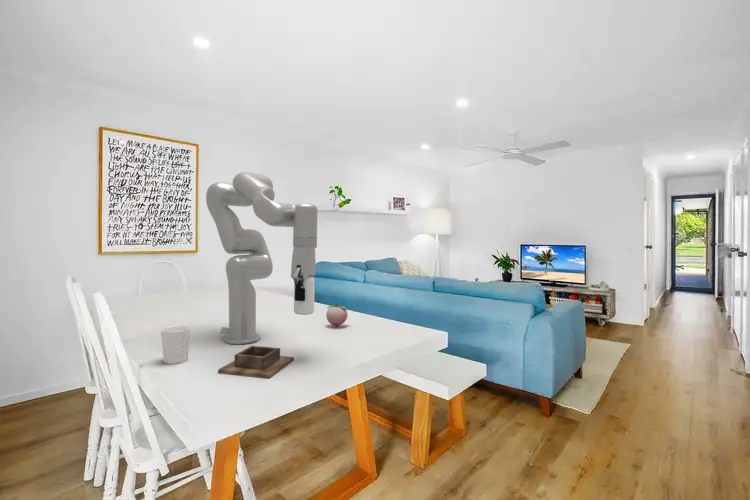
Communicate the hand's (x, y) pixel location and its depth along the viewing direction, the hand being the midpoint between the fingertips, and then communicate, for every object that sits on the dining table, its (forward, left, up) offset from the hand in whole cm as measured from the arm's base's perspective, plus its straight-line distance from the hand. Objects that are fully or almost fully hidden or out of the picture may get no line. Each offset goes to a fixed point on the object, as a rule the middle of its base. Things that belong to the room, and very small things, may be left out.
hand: (304, 298), depth 125 cm
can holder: (-10, -12, -19) cm, 24 cm away
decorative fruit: (-3, +41, -19) cm, 46 cm away
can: (0, 0, -5) cm, 5 cm away
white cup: (-37, -14, -19) cm, 44 cm away
